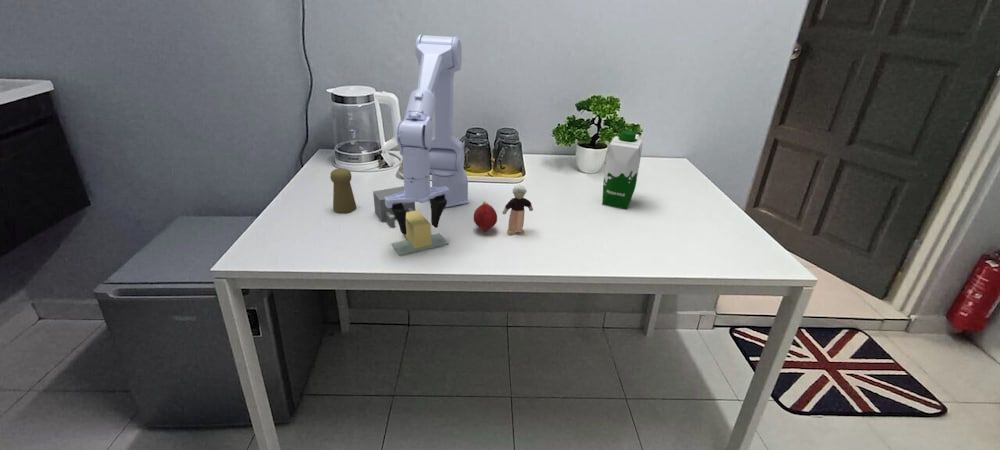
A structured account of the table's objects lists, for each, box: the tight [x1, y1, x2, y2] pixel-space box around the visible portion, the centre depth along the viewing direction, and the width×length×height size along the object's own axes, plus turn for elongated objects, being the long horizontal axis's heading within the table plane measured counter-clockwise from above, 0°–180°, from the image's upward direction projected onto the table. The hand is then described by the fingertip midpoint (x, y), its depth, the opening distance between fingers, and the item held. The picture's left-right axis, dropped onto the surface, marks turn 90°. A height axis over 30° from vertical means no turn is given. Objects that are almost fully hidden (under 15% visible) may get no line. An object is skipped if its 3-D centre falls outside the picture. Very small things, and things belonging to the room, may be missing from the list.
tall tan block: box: [404, 209, 432, 248], centre depth 115 cm, size 4×8×6 cm, turn 29°
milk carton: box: [601, 130, 643, 210], centre depth 135 cm, size 9×9×20 cm
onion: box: [473, 200, 498, 232], centre depth 120 cm, size 6×6×8 cm
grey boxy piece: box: [372, 185, 416, 228], centre depth 126 cm, size 9×10×6 cm
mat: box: [391, 232, 450, 257], centre depth 115 cm, size 12×6×1 cm, turn 119°
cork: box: [330, 167, 358, 215], centre depth 128 cm, size 6×6×11 cm
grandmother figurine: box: [502, 184, 534, 236], centre depth 119 cm, size 8×4×13 cm, turn 118°
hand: (419, 229), depth 113 cm, fingers open, 7 cm apart
